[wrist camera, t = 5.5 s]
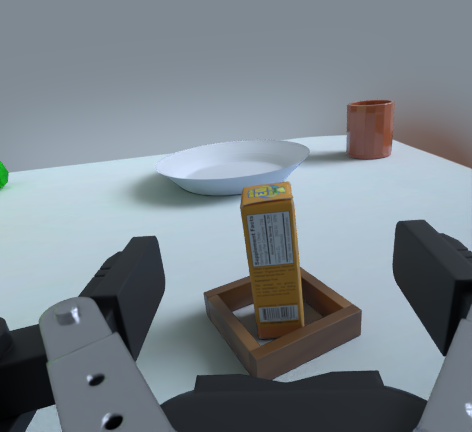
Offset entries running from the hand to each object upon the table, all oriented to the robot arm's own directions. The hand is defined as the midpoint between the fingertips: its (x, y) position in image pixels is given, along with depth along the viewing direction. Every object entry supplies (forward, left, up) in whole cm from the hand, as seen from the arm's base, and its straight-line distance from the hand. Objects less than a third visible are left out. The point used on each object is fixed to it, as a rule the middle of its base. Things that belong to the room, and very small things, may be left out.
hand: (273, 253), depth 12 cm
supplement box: (+8, -5, -11) cm, 15 cm away
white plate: (+43, -19, -11) cm, 49 cm away
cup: (+38, -44, -11) cm, 59 cm away
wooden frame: (+8, -5, -11) cm, 15 cm away
